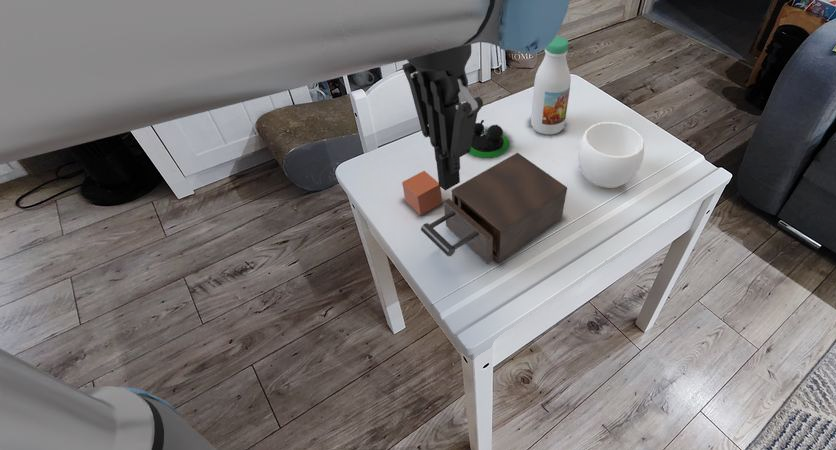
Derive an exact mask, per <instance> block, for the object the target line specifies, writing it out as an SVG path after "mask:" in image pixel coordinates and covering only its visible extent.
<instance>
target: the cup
mask: <svg viewBox="0 0 836 450" xmlns="http://www.w3.org/2000/svg"><path fill="white" fill-rule="evenodd" d="M644 156H645V140H644V139H643V137H642V135H641V133H640V132H638V131H637V130H636V129H634V128H633V127H632V126H629V125H626V124H624V123H621V122H616V121H601V122H598V123H595V124H592V125H590V126H589V127H588V128H587V129H586V130H585V131H584V133H583V135H582V137H581V139H580V142H579V147H578V151H577V160H578V161H577V162H578V166H579V169H580V172H581V174H582V175H583V177H585V178H586V180H587V181H588V182H589V183H591V184H593V185H595V186H597V187H601V188H606V189H608V188H609V189H611V188H618V187H620V186H623V185H625V184H627V183H629V182H630V181H631V180H632V179H633V178H634V176H636V174H637V173H638V171H639V170H640V169H641V166H642V163H643V160H644Z"/></svg>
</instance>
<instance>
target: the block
mask: <svg viewBox="0 0 836 450" xmlns="http://www.w3.org/2000/svg"><path fill="white" fill-rule="evenodd" d="M401 185H402V189H403V195H404V201H405V202H406V204H408V205H409V206H410V207H411V208H412V210H414V211H415V212H416V213H417V214H418V215H419V216H422V215H425V214H426V213H428V212H429V211H432V210H433V209H435V208H436V207H439V206H440V205H442V204H443V198H442V188H441V187H440V186H439V181H437V180H436V179H435V178H434V177H432V176H431V175H430V174H429V173H428V172H427V171H426V170H423V171H421V172H418V173H417V174H415V175H412V176H411V177H409V178H407V179H405V180H403V181H402V182H401Z"/></svg>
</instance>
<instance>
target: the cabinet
mask: <svg viewBox="0 0 836 450" xmlns="http://www.w3.org/2000/svg"><path fill="white" fill-rule="evenodd" d="M567 192H568V186H566V185H564V184H563V183H561V182H560V181H559V180H558V179H556V178H555V177H553V176H552V175H551V174H549V173H547V172H546V171H545V170H543V169H542V168H540V167H539V166H538V165H536V164H534V163H533V162H532V161H530V160H529V159H528V158H526V157H525V156H523V155H522V154H521V153H519V152H516V153H514V154H512V155H510V156H508V157H507V158H505V159H503V160H502V161H500V162H498V163H496V164H494V165H493V166H491V167H488V169H486V170H484V171H482V172H480V173H478V174H477V175H475V176H473V177H472V178H470V179H468V180H466V181H465V182H463V183H461V184H459V185H458V186H456V187H454V188H452V189H451V200H452V201H453V202H454V203H455V204H456V205H457V206H458V199H459V200H460V201H462V202H463V203H464V204H465V205H466V206H467V207H469V208H470V209H471V210H472V211H473V212H474V213H476V214H477V215H478V216H479V217H480V218H482V219H483V220H484V221H485V222H486V223H487V224H489V225H490V226H491V227H492V228H493V229H494V230H496V231H497V253H495V252H494V251H493V259H494V260H496V261H497V262H498V263H499V264H500V263H502V262H503V261H504V260H506V259H507V258H509V257H510V256H512V255H513V254H515V253H516V252H517V251H519V250H520V249H521V248H523V247H524V246H526V245H528V244H529V243H530V242H531V241H533V240H534V239H536V238H537V237H539V236H540V235H541V234H543V233H544V232H546V231H547V230H549V229H550V228H551V227H553V226H554V225H555V224H557V223H558V222H561V221H562V220H563V215H564V209H565V203H566V197H567Z"/></svg>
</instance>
